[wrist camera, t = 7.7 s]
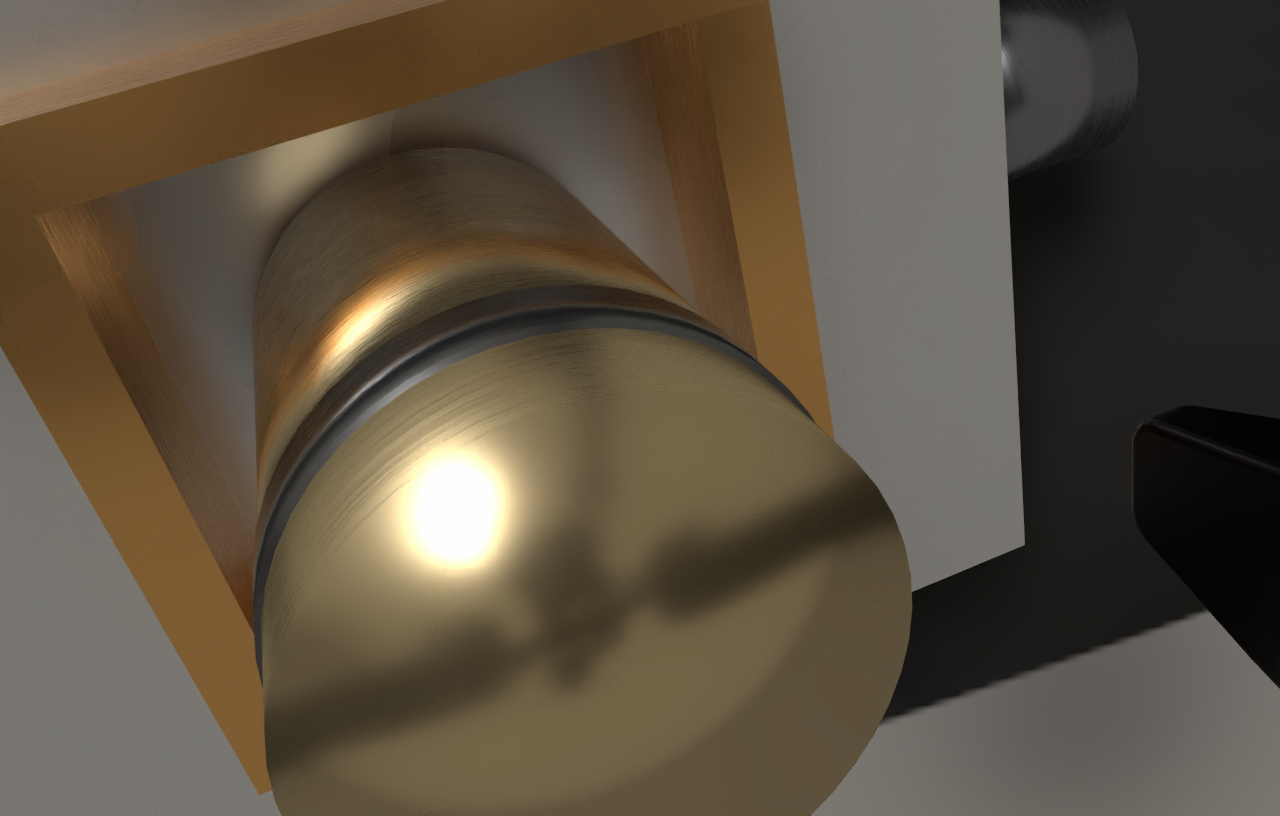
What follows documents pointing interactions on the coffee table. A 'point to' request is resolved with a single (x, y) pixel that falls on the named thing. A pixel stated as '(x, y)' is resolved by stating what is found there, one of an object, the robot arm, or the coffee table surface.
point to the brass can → (544, 524)
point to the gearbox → (536, 136)
